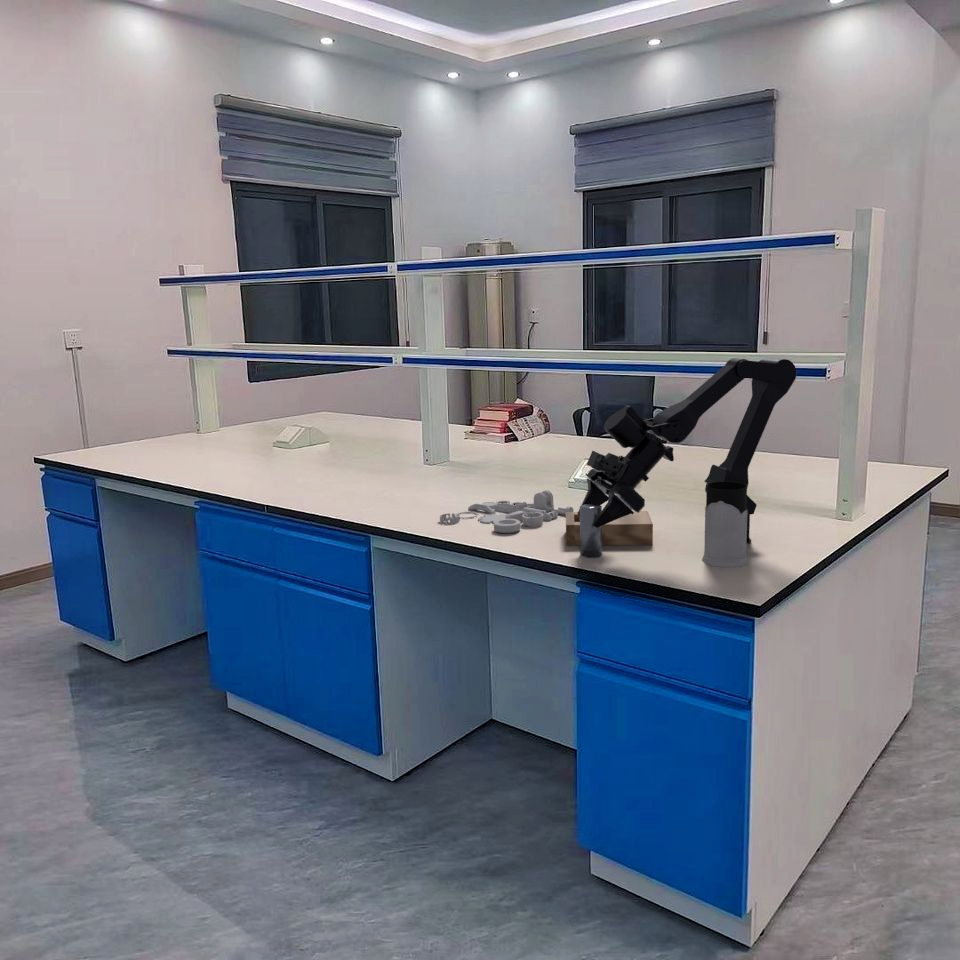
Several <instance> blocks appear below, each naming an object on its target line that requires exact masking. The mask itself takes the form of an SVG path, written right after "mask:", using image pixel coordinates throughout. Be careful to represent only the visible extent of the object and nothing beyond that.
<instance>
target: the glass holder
mask: <svg viewBox="0 0 960 960" xmlns="http://www.w3.org/2000/svg"><path fill="white" fill-rule="evenodd" d="M706 484H707V483H706ZM705 494H706V496H705V497H706V498H705V499H706V500H705V502H706V503H705V504H706V506H705V507H704V553H703V555H702V558H701V561H702V562H703V563H704V564H706V565H709V566H712V567H717V568H738V567H740V568H741V567H742V566H746V565H747V564H749V559H748V557H747V556H748V555H747V543H746V542H747V510H746V507H747V496H748V488H747V485H746V484H743V483H739V482H729V481H721V482H712V483H708V484H707V490H706V492H705Z"/></svg>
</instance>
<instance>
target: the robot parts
mask: <svg viewBox="0 0 960 960" xmlns="http://www.w3.org/2000/svg"><path fill="white" fill-rule="evenodd" d="M510 503H511V504H510ZM514 504H515V505H514ZM500 505H501V506H500ZM554 505H555V503H554V495H553V494H552V491H550V490H547V489H546V490H543V491H542V492H537V493H535V494H534V496H533V503H528V502H525V501H523V502H520V501H519V502H518V501H515V502H511V501H510V500H499V501H496V502H494V501H486V502H482V503H474V504H471V505H470V506H469V507H468V509H470V510H469V511H463V512H458V513H454V512H452V513H443V514H441V515H440V516H439V522H440V523H439V524H442V523H443V525H454V524H453V523H455V524H458V523H460V522H459V521H461V519H460V518H463V519H462V520H465V519H464V518H469V519H475V518H474V517H476V518H477V521H478V522H479V521H480V522H479V523H481V524H485V523H486V524H487V525H490V524H492V525H493V531H495V532H497V533H499V534H514V533H517V532H519V531H520V530H521V528H522V527H521V523H522V525H523V526H524V527H529V528H535V527H541V526H543V525H544V521H548V522H549V521H550V520H551V521H552V520H555V519H558V517H559V515H560V514H561V515H562V516H566V512H574V508H573V506H569V505H568V506H566V507H565V508H564V507H557V509H555V506H554ZM475 510H476V511H477V510H478V511H483V512H484V513H485V512H486V513H487V514H485V515H481V516H478V517H477V515H479V513H478V512H475ZM496 510H497V512H501V513H499V514H497V513H496ZM502 512H503V513H502ZM507 512H508V514H505V513H507ZM461 513H466V514H470V513H474V514H473V516H465V517H462V516H460V515H462V514H461ZM489 513H490V514H489ZM494 513H495V514H494ZM475 514H476V515H475ZM551 521H550V522H551Z"/></svg>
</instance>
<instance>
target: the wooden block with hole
mask: <svg viewBox="0 0 960 960" xmlns="http://www.w3.org/2000/svg"><path fill="white" fill-rule="evenodd" d="M632 511H633V512H634V513H633V514H629V515H626V516H624V517H621V518H619V519H616V520H614V521H612V522H609V523H607V524H605V525H602V546H644V545H645V546H653V545H654V541H653V540H654V539H653V537H654V535H653V533H654V531H653V530H654V527H653V526H654V524H653V521H652V518H651V515H650V514H649V511H648V510H641V511H640V512H639V513H637V512H636V511H634V510H632ZM565 538H566V539H565V542H566V543H565V545H566V546H567V547H568V546H569V547H570V546H571V547H572V546H573V547H574V546H580V516H579V515H578V511H573V512H566V515H565Z"/></svg>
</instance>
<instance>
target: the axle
mask: <svg viewBox="0 0 960 960" xmlns="http://www.w3.org/2000/svg"><path fill="white" fill-rule="evenodd" d="M579 509H580V545H579V549H580V550H579V551H580V553H579V554H580V557H583V558H588V559H589V558H590V559H591V558H593V559H594V558H599V557H602V556H603V545H602V526H600V527H598V528H596V527H595V526H594V525H593V523H594V521H595V520H596V518H597V517H598V515H599V514H600V513H601V511H602V510H603V507H602V505H596V504H586V505H582V504H580V506H579Z"/></svg>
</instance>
